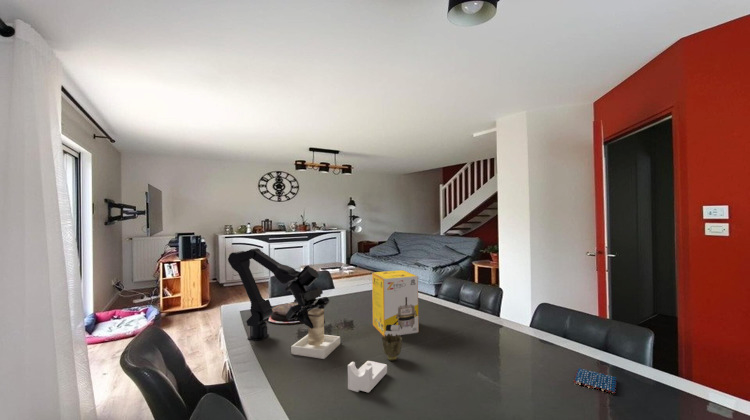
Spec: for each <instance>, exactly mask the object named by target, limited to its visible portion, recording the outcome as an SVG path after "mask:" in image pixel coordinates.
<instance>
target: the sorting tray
mask: <svg viewBox="0 0 750 420" xmlns="http://www.w3.org/2000/svg"><path fill="white" fill-rule="evenodd" d="M340 345H341V336H338V335H331V334H330V335H329V334H324V342H323V343H322V344H321V345H320V346H313V345H308V334H306V335H305V336H303V337H302V338H301V339H299V340H298V341H296V342H295V343H294V344H292V345H291V346H290V348H291V349H290V351H291V352H290V354H291V355H295V356H302V357H309V358H315V359H322V360H325V359H326V358H327V357H328V356H329V355H330V354H332V352H334V351H335V349H336V348H338V347H339V346H340Z"/></svg>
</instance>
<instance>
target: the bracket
mask: <svg viewBox="0 0 750 420" xmlns="http://www.w3.org/2000/svg"><path fill="white" fill-rule="evenodd" d="M387 373H388V365H387V364H385V363H382V362H377V361H373V360H367V361H366V362H365V363H364V364H362V365H361V366H360V367H359V368H357V367H356V362H355V361H351V362H350V363H349V364H347V390H350V391H353V392H356V393H359V392H360V391H362V392H366V393H370V392H371V390H373V389H374V387H375V386H376V385H377V384H379V382H380V381H381V380H382V379H383V378H384V377H385V375H386V374H387Z"/></svg>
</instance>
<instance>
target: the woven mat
mask: <svg viewBox="0 0 750 420" xmlns="http://www.w3.org/2000/svg"><path fill="white" fill-rule="evenodd" d="M574 376H575V377H574V379H573V383H574V384H575V383H576V384H577V385H578V384H579V385H581V383H582V385H584V386H586V388H587V387H588V388H587V389H589V388H590V389H592V388H596V389H595V390H597V389H600V388H601V390H602V391H604V390H605V389H606V390H605V391H608V390H609V391H608V393H610V392H612V391H613V392H612V393H614V394H615V393H617V390H616V389H617V382H616V380H617V377H616V376H612V375H610V374H609V375H608V374H607V375H606V374H604V373H601V372H600V373H599V372H596V371H593V370H588V369H583V368H580V367H579V368H578V369H576V372H575V374H574ZM592 378H593V379H592ZM595 382H596V383H595ZM579 385H578V386H579ZM611 385H612V386H611ZM615 388H616V389H615ZM615 391H616V392H615Z"/></svg>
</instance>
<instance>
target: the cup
mask: <svg viewBox="0 0 750 420" xmlns="http://www.w3.org/2000/svg"><path fill="white" fill-rule="evenodd" d="M381 341H382V342H381V343H382V348H383V353H384V354H385V355H386V356H387V360H389V362H394V361H397V360H398V356H399V355H400V354H401V351H402V346H403V345H402V344H403V337H402V335H397V334H396V336H392V334H391V335H390V334H388V335H387V336H386V335H385V337H384V336H383V335H382V336H381Z"/></svg>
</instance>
